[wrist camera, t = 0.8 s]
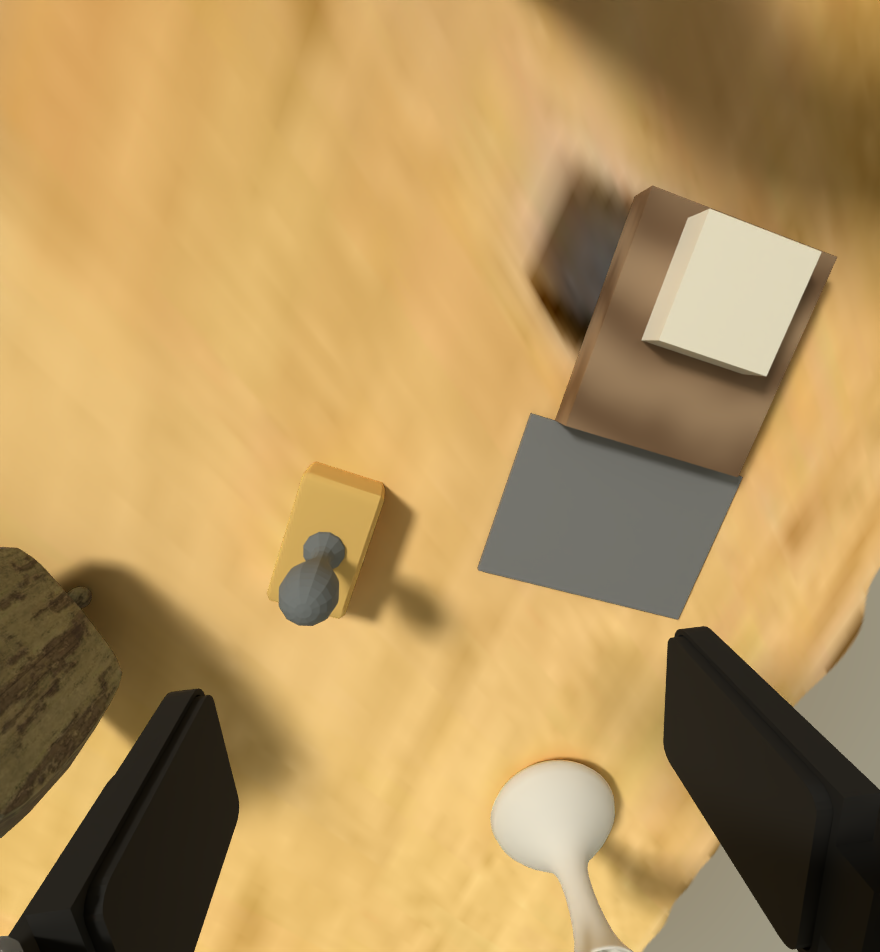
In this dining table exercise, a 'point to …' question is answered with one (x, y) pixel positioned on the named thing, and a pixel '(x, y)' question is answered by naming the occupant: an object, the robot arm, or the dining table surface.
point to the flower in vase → (561, 837)
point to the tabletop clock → (45, 681)
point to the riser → (669, 356)
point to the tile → (730, 293)
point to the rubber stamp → (325, 543)
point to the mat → (605, 519)
